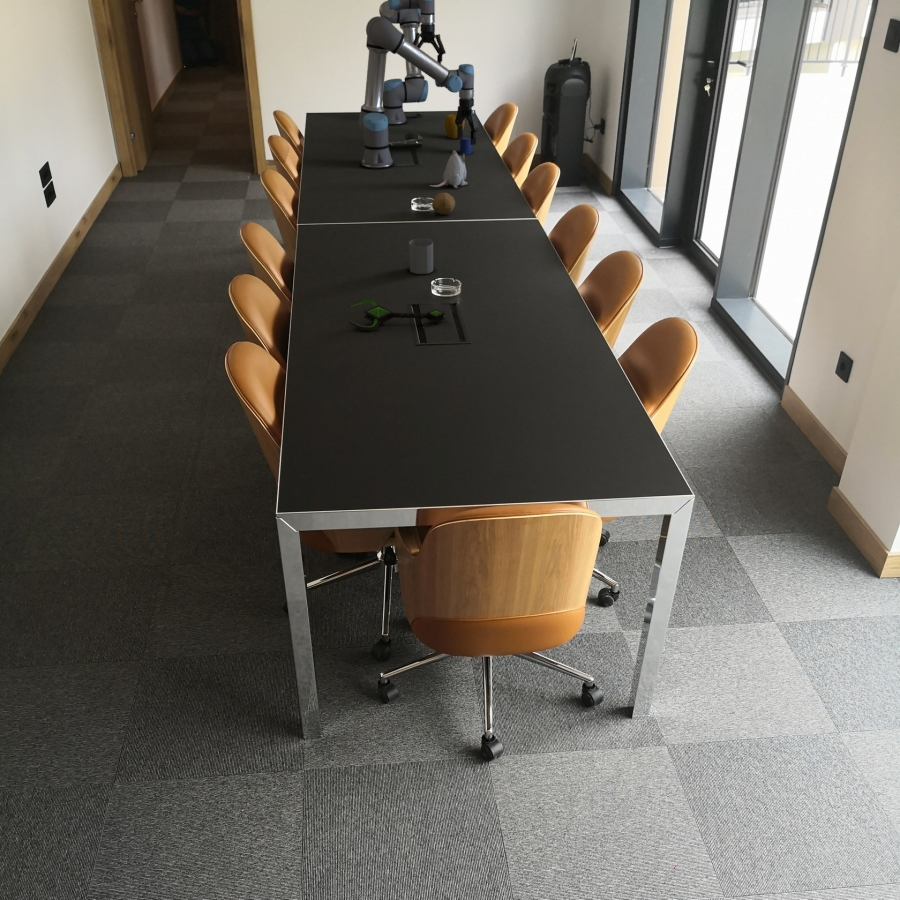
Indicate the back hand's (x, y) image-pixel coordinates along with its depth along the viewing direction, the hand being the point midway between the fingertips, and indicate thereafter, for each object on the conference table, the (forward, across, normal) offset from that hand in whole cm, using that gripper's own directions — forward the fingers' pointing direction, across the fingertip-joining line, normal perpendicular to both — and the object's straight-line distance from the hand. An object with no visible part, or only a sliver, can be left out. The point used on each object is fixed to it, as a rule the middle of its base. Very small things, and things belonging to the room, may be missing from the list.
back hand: (428, 67), depth 464 cm
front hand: (+29, +37, -26) cm, 54 cm away
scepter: (+35, +117, -224) cm, 255 cm away
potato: (+35, +76, -121) cm, 147 cm away
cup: (+35, +101, -182) cm, 211 cm away
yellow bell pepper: (+35, +17, -1) cm, 39 cm away
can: (+35, +37, -26) cm, 57 cm away
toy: (+35, +60, -88) cm, 112 cm away
